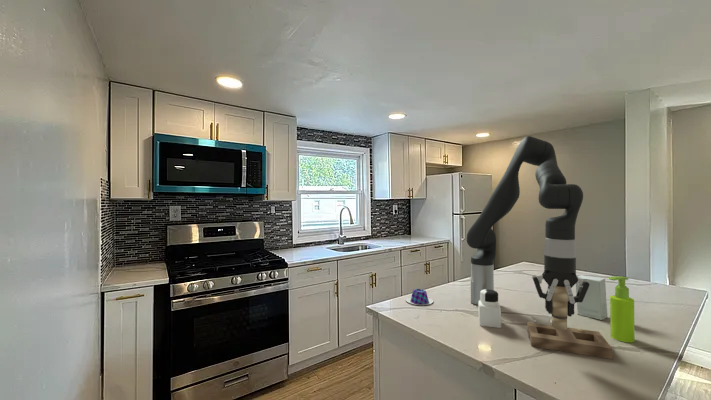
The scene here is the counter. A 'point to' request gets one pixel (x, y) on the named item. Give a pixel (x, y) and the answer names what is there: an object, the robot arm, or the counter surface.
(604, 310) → the skincare box
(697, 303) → the counter surface
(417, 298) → the pudding
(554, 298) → the peg
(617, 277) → the soap dispenser
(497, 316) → the medicine bottle
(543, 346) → the board
